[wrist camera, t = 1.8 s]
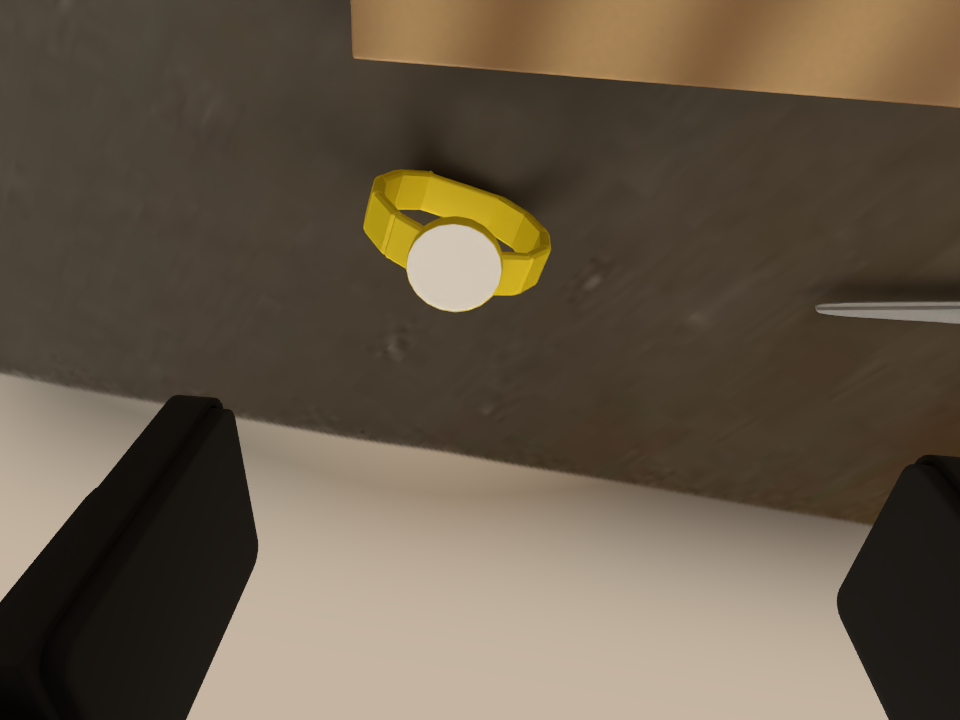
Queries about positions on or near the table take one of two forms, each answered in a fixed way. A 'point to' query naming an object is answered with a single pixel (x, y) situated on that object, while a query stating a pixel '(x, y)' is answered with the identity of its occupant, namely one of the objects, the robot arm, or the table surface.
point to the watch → (455, 239)
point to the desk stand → (685, 42)
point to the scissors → (896, 310)
